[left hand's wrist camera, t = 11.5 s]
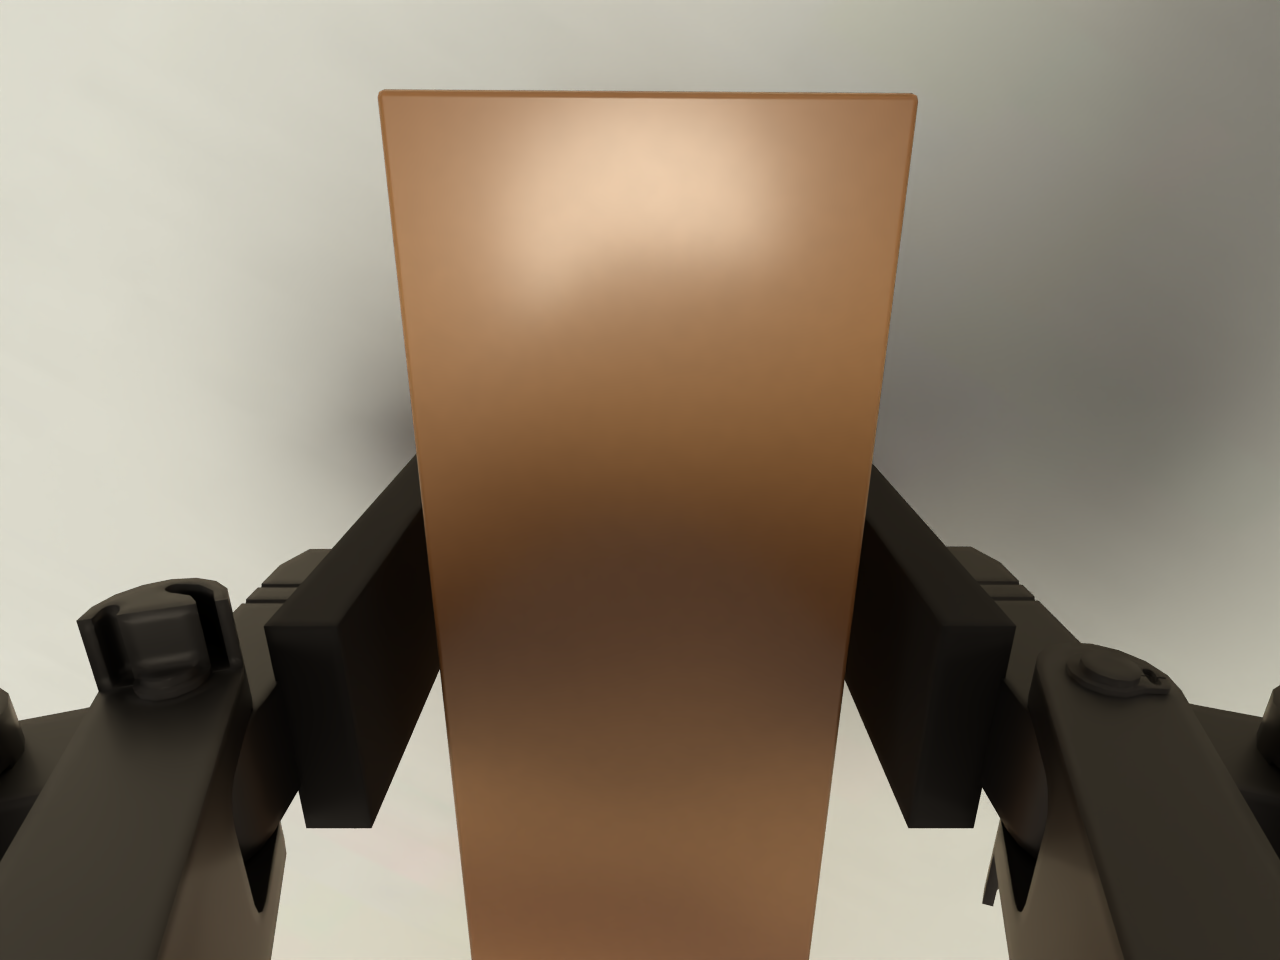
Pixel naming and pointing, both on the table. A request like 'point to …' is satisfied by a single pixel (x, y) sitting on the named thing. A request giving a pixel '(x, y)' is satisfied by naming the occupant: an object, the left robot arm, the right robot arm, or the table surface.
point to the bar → (644, 491)
